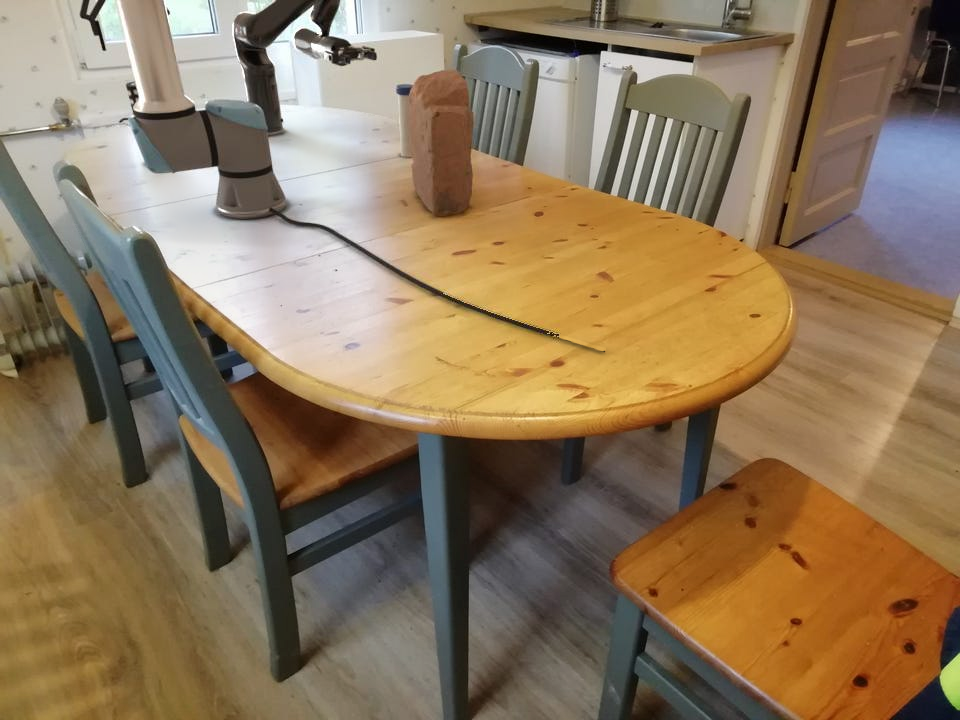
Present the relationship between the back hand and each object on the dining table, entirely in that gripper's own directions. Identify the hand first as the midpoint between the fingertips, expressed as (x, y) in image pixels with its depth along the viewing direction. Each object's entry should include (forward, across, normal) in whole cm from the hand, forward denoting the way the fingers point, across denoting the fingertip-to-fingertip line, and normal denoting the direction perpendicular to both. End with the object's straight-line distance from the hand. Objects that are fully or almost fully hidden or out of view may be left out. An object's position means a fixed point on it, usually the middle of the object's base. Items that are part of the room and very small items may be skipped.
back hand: (362, 58), depth 197 cm
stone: (+58, -15, +22) cm, 64 cm away
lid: (+22, 0, +4) cm, 22 cm away
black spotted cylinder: (-12, -58, +11) cm, 60 cm away
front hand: (-15, -56, -7) cm, 59 cm away
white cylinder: (+22, 0, +23) cm, 31 cm away
